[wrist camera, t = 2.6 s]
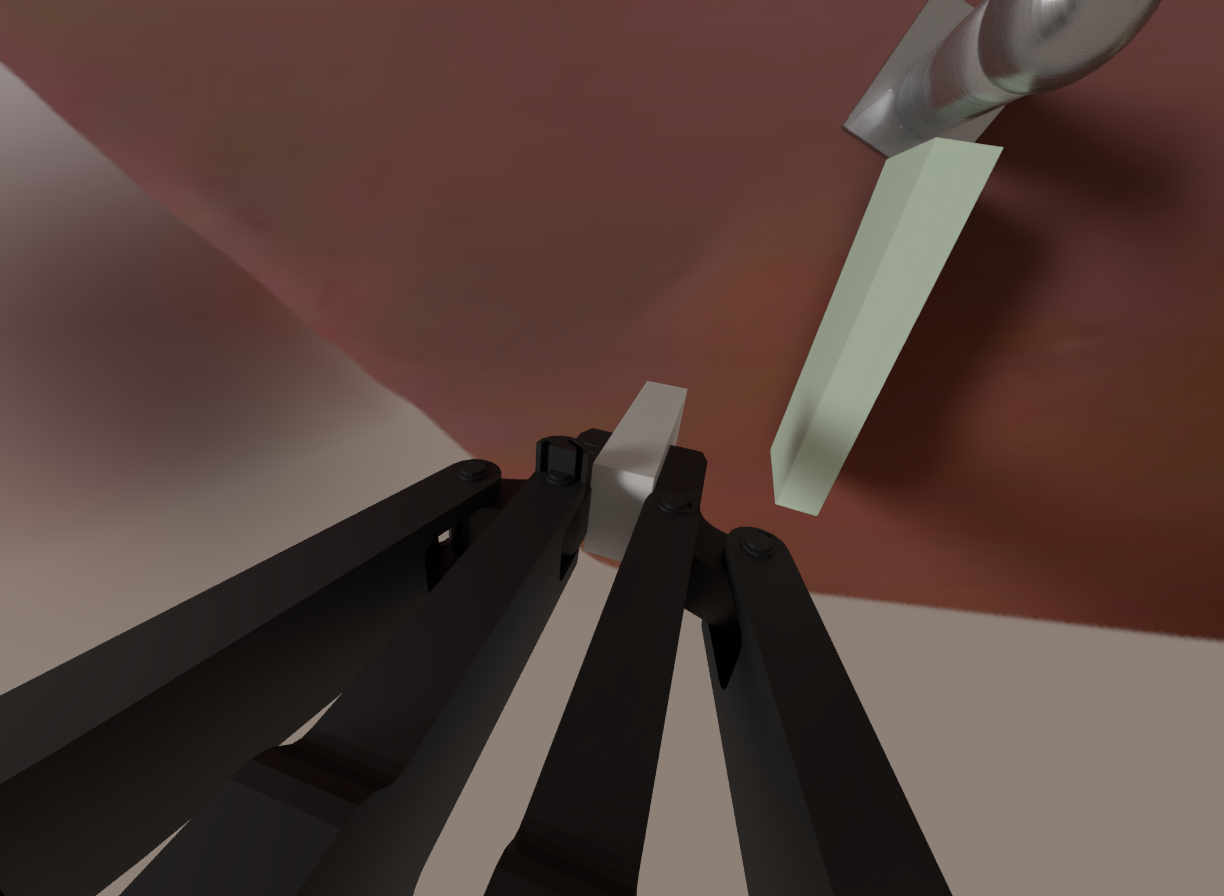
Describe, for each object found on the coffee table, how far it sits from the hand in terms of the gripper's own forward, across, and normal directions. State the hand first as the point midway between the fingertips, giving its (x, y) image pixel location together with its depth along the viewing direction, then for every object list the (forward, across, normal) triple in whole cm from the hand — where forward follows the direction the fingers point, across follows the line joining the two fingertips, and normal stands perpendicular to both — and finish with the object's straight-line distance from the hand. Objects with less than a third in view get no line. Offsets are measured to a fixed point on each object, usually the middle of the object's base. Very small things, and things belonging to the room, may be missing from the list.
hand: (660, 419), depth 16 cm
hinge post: (+11, +8, +12) cm, 18 cm away
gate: (+10, +7, +2) cm, 13 cm away
